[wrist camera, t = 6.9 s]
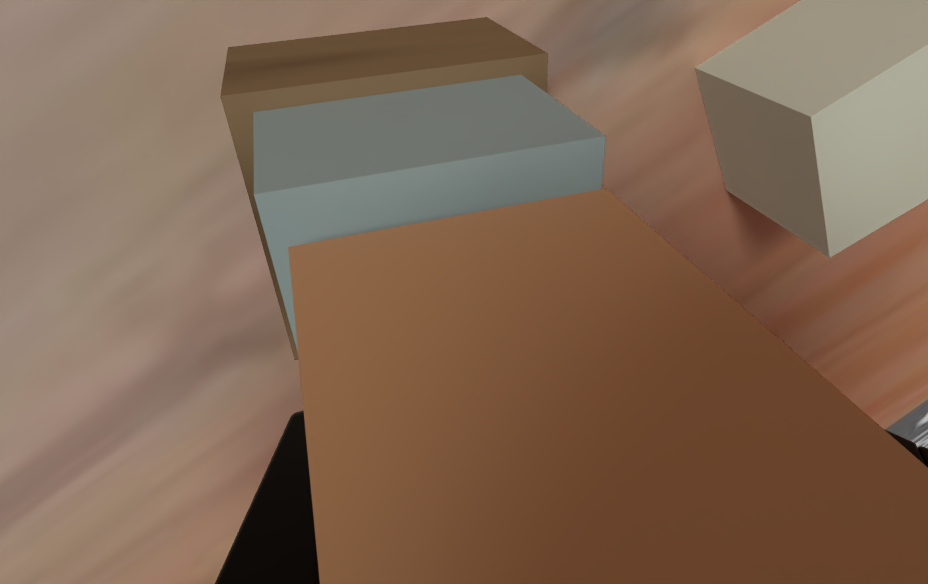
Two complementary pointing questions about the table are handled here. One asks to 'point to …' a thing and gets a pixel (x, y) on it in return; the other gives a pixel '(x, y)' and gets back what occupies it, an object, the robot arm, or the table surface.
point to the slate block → (413, 161)
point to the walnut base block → (363, 77)
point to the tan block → (577, 416)
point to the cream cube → (825, 117)
